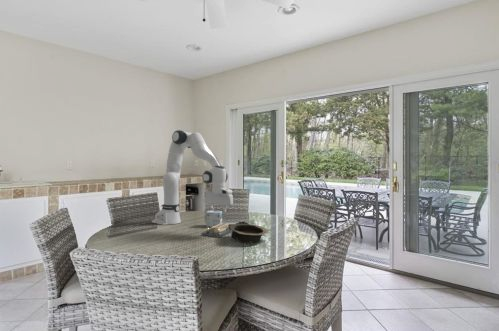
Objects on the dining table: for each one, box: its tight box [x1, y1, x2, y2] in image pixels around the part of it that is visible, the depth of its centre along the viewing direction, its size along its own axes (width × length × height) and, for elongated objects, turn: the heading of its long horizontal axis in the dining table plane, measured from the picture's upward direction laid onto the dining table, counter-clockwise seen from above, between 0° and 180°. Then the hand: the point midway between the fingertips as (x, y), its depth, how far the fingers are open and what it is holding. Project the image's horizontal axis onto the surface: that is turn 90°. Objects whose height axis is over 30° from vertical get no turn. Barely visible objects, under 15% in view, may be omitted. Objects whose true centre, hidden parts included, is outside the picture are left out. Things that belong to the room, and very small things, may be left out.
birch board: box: [210, 222, 228, 233], centre depth 194 cm, size 5×13×3 cm, turn 156°
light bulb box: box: [205, 210, 223, 228], centre depth 213 cm, size 11×7×11 cm, turn 84°
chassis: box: [201, 223, 232, 239], centre depth 194 cm, size 14×21×4 cm, turn 156°
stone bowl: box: [227, 221, 269, 244], centre depth 178 cm, size 25×25×9 cm
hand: (218, 210), depth 193 cm, fingers open, 8 cm apart
